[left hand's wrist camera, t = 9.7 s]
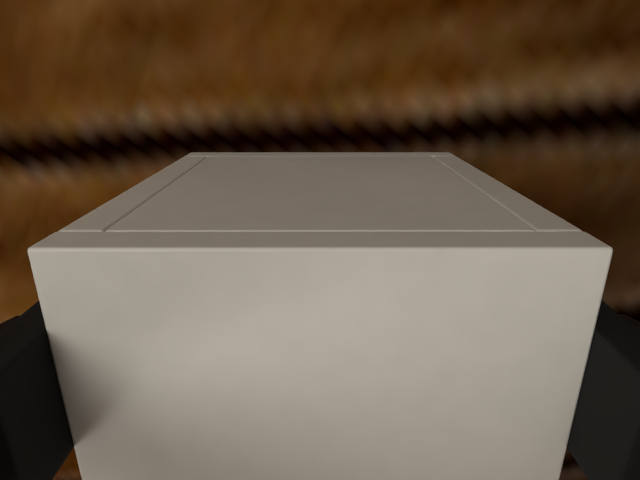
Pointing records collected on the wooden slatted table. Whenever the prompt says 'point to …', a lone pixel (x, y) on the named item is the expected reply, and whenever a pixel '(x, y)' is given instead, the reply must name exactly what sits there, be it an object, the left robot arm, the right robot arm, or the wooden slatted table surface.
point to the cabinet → (320, 322)
